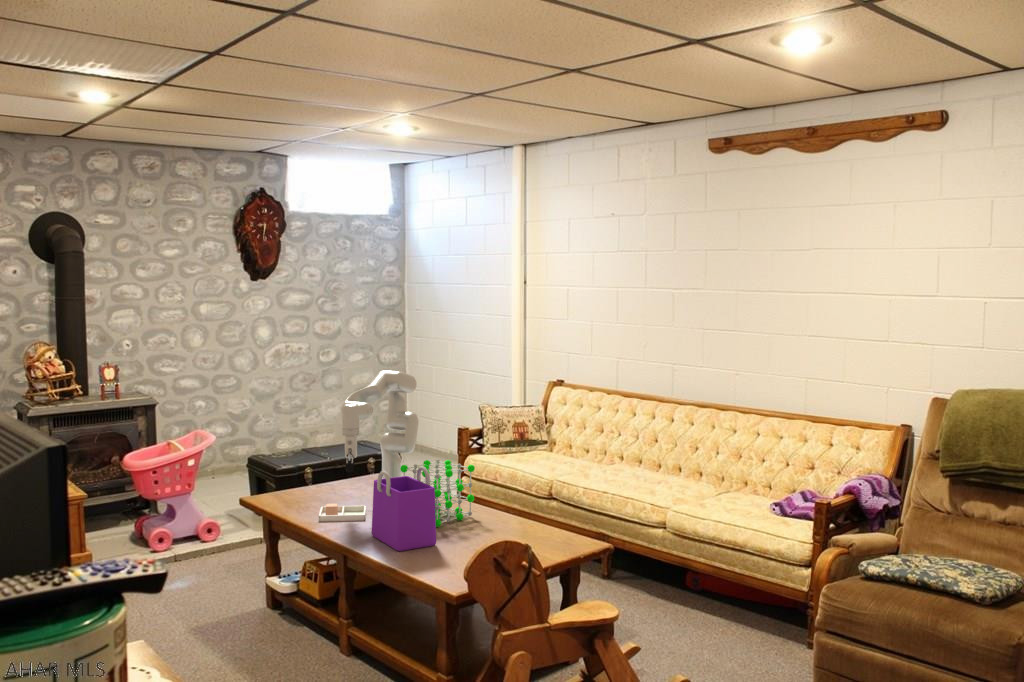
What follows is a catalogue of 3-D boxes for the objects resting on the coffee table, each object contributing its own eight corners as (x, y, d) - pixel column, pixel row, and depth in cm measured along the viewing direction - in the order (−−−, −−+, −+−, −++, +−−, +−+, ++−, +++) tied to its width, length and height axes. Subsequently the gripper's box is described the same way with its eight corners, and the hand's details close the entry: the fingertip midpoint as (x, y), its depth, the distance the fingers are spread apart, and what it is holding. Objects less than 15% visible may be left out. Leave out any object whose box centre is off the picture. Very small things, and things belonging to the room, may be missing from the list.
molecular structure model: (475, 517, 391) (476, 464, 390) (437, 528, 372) (437, 473, 370) (437, 507, 407) (438, 456, 405) (398, 518, 387) (398, 464, 386)
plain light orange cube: (337, 514, 389) (337, 503, 389) (337, 517, 384) (337, 506, 384) (326, 514, 388) (326, 503, 388) (325, 517, 383) (325, 506, 383)
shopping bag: (361, 538, 356) (361, 466, 354) (403, 528, 371) (403, 459, 369) (403, 554, 336) (404, 478, 334) (446, 543, 351) (447, 470, 349)
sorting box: (365, 511, 396) (365, 505, 396) (365, 521, 381) (365, 514, 380) (321, 512, 393) (321, 506, 393) (318, 522, 378) (318, 515, 377)
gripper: (358, 435, 379) (357, 473, 380) (360, 428, 396) (359, 465, 397) (340, 435, 378) (340, 473, 379) (343, 428, 395) (343, 465, 396)
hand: (350, 469), depth 388 cm, fingers open, 9 cm apart
